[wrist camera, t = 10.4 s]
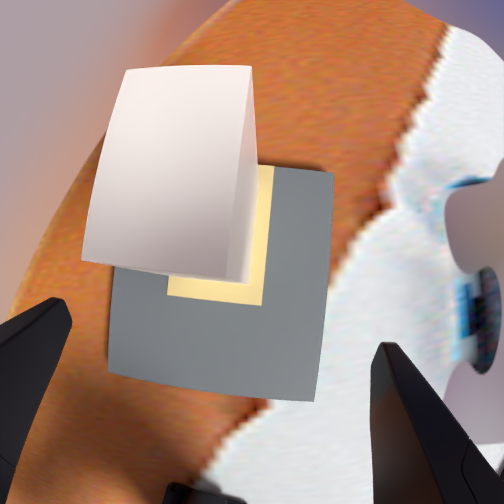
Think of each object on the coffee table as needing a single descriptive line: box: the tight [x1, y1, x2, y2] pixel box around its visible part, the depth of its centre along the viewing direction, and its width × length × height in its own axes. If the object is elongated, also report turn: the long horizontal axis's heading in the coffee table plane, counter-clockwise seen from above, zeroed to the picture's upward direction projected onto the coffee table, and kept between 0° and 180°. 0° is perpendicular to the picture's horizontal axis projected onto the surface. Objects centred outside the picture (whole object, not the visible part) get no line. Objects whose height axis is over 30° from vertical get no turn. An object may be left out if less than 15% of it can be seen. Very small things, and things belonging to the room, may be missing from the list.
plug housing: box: [81, 65, 259, 285], centre depth 14 cm, size 6×4×12 cm, turn 174°
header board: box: [108, 165, 334, 402], centre depth 19 cm, size 15×14×4 cm
